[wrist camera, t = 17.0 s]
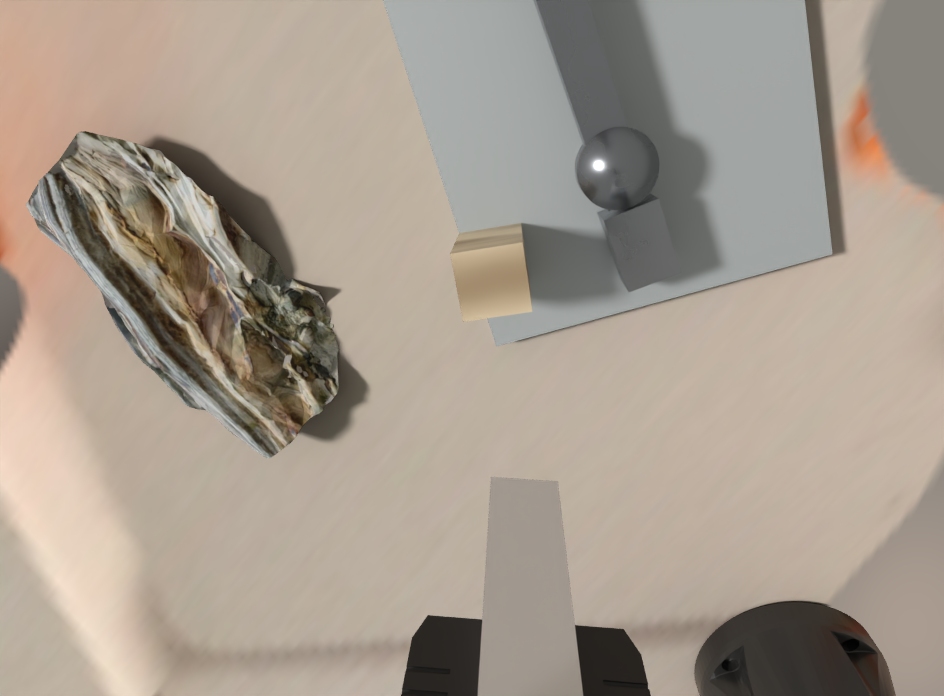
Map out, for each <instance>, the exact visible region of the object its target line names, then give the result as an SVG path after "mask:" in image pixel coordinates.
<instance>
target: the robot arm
mask: <svg viewBox="0 0 944 696" xmlns="http://www.w3.org/2000/svg"><path fill="white" fill-rule="evenodd" d="M695 681H696V685H697V688H698V692H699V695H700V696H896V695H895V691H894V687H893V684H892V680H891V676H890V672H889V669H888V666H887V663H886V661H885V659H884V657H883V655H882V653H881V652H880V650H879V649H878V647H877V646H876V644H875V643H874V642H873V640H872V639H871V637H870V636H869V634H868V633H867V631H866V630H865V629H864V628H863V627H862V626H861V625H860V624H859V623H858V622H857V621H856V620H854V619H853V618H851V617H850V616H848V615H847V614H845V613H843V612H841V611H838V610H836V609H833V608H830V607H827V606H823V605H819V604H813V603H803V602H788V603H777V604H771V605H766V606H762V607H759V608H755V609H752V610H750V611H747V612H744V613H742V614H740V615H738V616H736V617H734V618H732V619H731V620H729V621H728V622H726V623H725V624H723V625H722V626H721V627H719V628H718V629H717V630H716V631H715V632H714V633H713V634H712V635H711V636H710V637H709V638H708V639H707V640H706V642H705V643H704V645H703V646H702V648H701V650H700V652H699V654H698V656H697V659H696V664H695ZM401 696H651V695H650V691H649V689H648V682H647V678H646V674H645V670H644V665H643V661H642V657H641V654H640V653H639V651H638V650H637V648H636V647H635V645H634V644H633V642H632V641H631V639H630V638H629V636H628V635H627V634H626V632H625V631H624V629H614V628H602V627H589V626H577V625H575V622H574V614H573V605H572V597H571V589H570V580H569V572H568V563H567V555H566V547H565V538H564V530H563V521H562V513H561V505H560V496H559V488H558V481H543V480H529V479H514V478H500V477H491V486H490V502H489V518H488V535H487V551H486V567H485V583H484V600H483V616H482V620H480V619H467V618H455V617H442V616H430V615H428V616H427V617H426V619H425V620H424V622H423V623H422V625H421V626H420V627H419V629H418V630H417V632H416V633H415V634H414V636H413V637H412V641H411V646H410V652H409V657H408V662H407V669H406V672H405V678H404V683H403V688H402V694H401Z"/></svg>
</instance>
